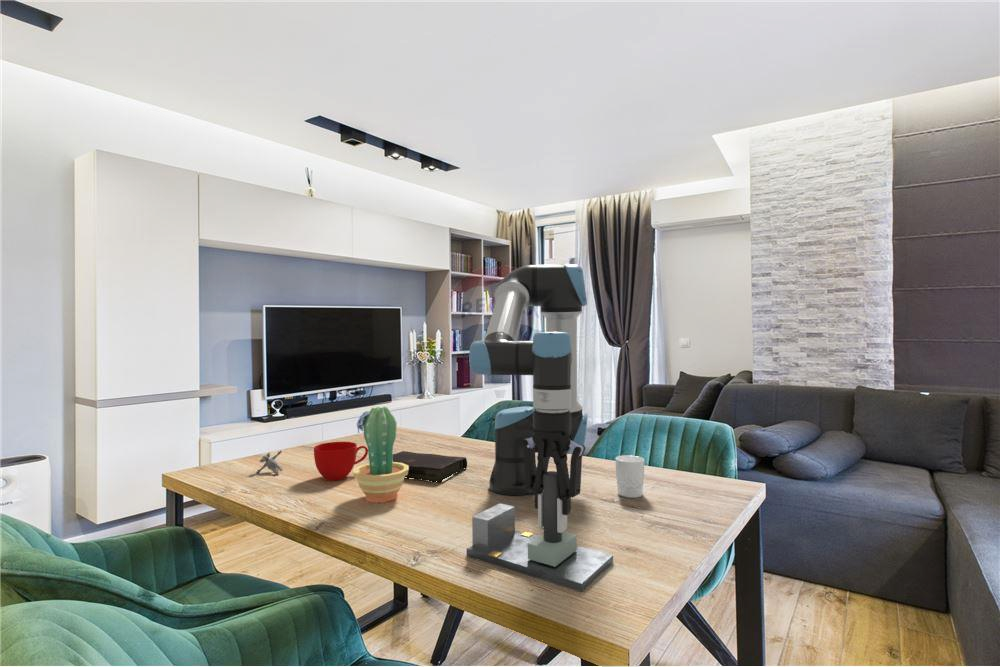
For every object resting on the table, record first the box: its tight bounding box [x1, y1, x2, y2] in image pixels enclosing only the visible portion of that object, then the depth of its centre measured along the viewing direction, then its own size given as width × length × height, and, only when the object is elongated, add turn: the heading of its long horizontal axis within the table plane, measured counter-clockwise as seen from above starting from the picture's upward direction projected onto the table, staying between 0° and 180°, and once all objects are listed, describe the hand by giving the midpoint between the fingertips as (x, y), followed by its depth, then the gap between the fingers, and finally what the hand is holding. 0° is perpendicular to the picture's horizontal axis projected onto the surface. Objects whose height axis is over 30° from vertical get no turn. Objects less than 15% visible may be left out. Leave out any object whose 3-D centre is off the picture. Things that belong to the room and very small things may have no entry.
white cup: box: [615, 454, 645, 499], centre depth 146 cm, size 8×8×10 cm
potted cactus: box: [352, 406, 409, 504], centre depth 144 cm, size 15×15×25 cm
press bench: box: [465, 503, 614, 593], centre depth 105 cm, size 26×14×8 cm, turn 55°
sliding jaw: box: [528, 470, 578, 567], centre depth 103 cm, size 6×9×16 cm, turn 145°
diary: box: [393, 450, 468, 484], centre depth 170 cm, size 19×25×5 cm
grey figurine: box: [255, 450, 283, 476], centre depth 170 cm, size 10×6×9 cm
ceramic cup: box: [313, 441, 368, 481], centre depth 165 cm, size 13×17×10 cm
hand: (552, 527), depth 103 cm, fingers closed on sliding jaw, 4 cm apart
